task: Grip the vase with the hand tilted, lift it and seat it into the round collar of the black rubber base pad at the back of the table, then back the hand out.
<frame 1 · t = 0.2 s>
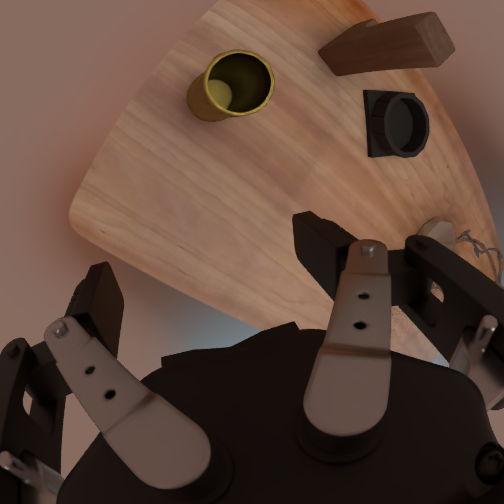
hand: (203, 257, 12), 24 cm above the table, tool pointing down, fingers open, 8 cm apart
vase: (212, 97, 31), on the table
table lamp: (430, 246, 51), on the table
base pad: (391, 122, 37), on the table
wooden block: (346, 49, 31), on the table
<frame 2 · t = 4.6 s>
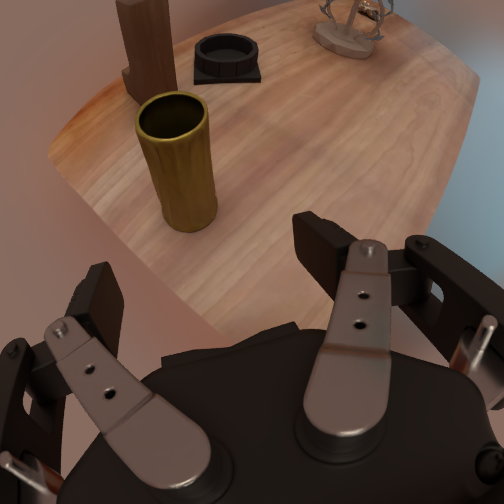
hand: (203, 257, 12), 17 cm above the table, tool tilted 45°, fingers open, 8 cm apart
ornament: (366, 14, 55), on the table
vase: (190, 207, 31), on the table
table lamp: (342, 43, 46), on the table
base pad: (225, 65, 40), on the table
wooden block: (152, 97, 37), on the table
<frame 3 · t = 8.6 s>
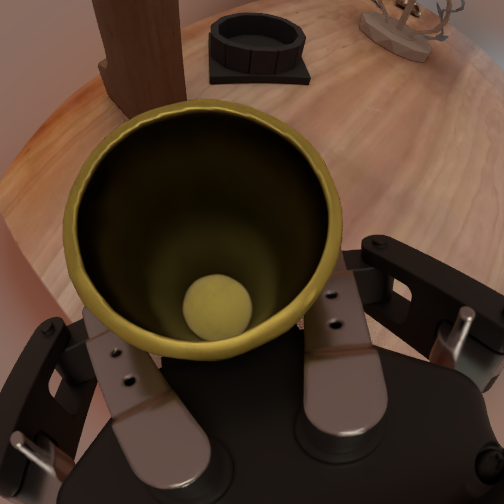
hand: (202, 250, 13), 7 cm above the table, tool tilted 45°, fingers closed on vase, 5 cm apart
ornament: (404, 9, 42), on the table
vase: (217, 310, 18), on the table, touching gripper
table lamp: (393, 40, 34), on the table
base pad: (254, 57, 27), on the table
wooden block: (145, 104, 24), on the table
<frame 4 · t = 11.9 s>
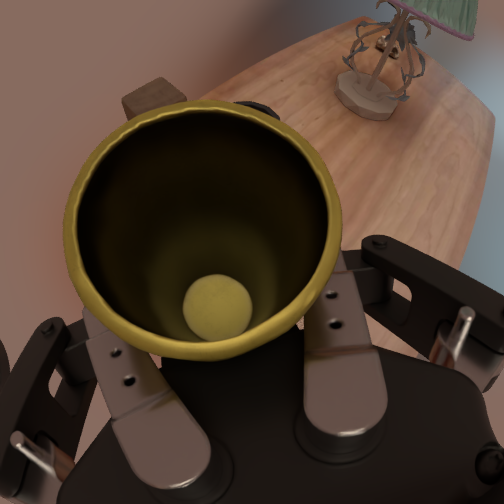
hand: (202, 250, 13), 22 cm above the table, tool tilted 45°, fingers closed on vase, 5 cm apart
ornament: (384, 50, 57), on the table
vase: (217, 310, 18), point 16 cm above the table, touching gripper
table lamp: (364, 98, 48), on the table
wooden block: (169, 185, 39), on the table
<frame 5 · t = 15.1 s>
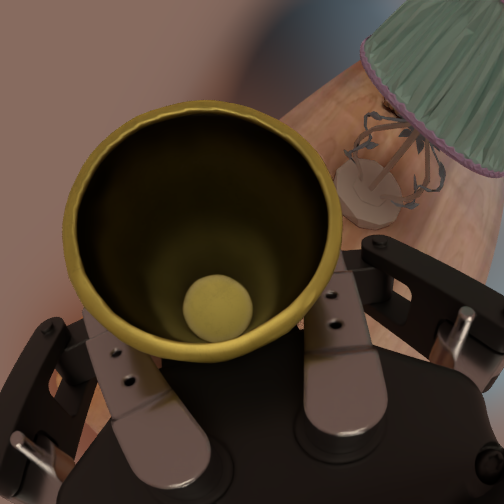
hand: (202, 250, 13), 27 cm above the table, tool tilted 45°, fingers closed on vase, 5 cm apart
ornament: (392, 108, 55), on the table
vase: (217, 310, 18), point 20 cm above the table, touching gripper
table lamp: (365, 195, 46), on the table
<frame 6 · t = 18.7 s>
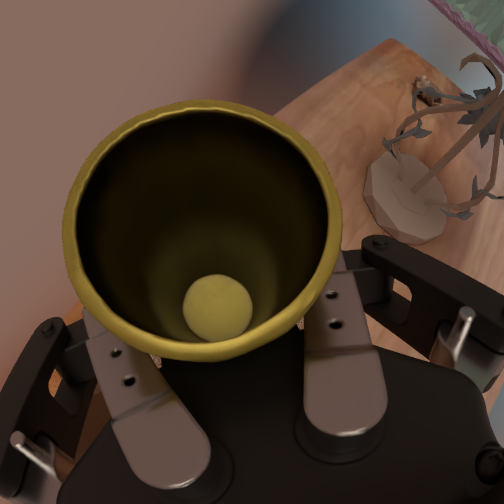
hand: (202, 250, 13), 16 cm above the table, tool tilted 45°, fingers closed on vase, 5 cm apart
ornament: (423, 97, 43), on the table
vase: (217, 310, 18), point 9 cm above the table, touching gripper
table lamp: (403, 200, 34), on the table
wooden block: (116, 392, 24), on the table
when the fingers open (8 cm above the table, at t = 21.6 s): vase stays where it is, resting on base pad.
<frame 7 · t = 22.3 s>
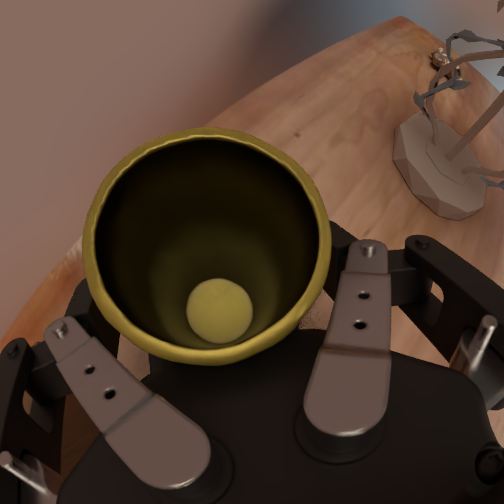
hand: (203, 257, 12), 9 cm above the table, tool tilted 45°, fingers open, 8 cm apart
ornament: (441, 70, 35), on the table
vase: (219, 312, 19), point 1 cm above the table, touching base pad
table lamp: (437, 169, 27), on the table
wooden block: (83, 405, 17), on the table
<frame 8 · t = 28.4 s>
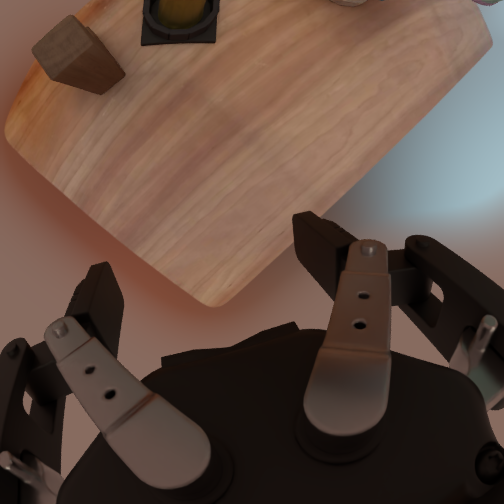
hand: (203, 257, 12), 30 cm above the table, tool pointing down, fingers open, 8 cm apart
vase: (180, 12, 28), point 1 cm above the table, touching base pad
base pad: (180, 13, 28), on the table
wooden block: (97, 64, 29), on the table
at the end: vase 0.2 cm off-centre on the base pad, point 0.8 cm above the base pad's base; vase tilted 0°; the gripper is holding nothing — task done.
